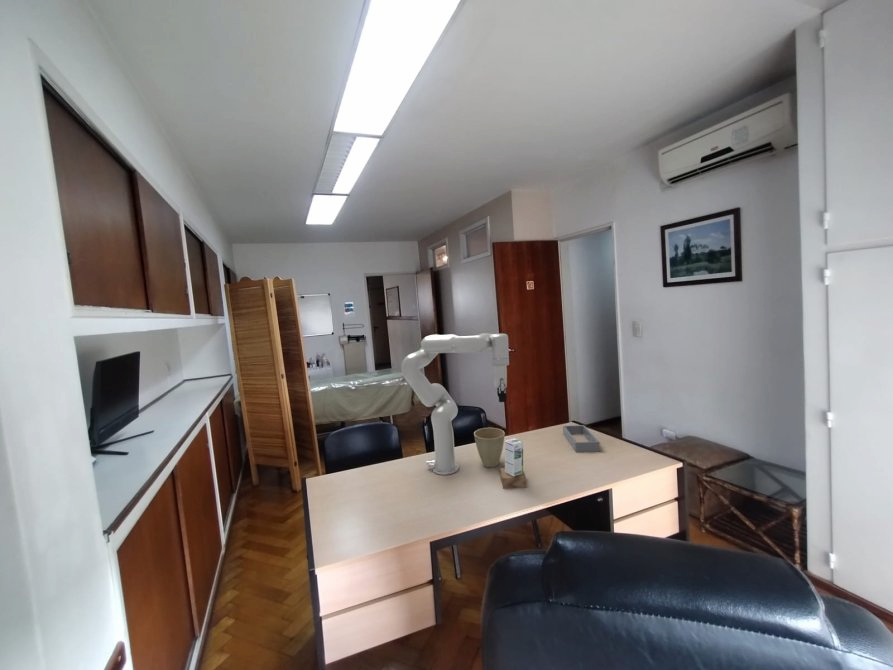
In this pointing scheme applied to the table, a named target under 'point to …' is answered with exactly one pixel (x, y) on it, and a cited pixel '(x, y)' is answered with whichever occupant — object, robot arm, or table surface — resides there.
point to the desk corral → (581, 446)
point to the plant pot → (489, 445)
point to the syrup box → (514, 457)
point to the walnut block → (512, 480)
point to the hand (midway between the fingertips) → (501, 398)
